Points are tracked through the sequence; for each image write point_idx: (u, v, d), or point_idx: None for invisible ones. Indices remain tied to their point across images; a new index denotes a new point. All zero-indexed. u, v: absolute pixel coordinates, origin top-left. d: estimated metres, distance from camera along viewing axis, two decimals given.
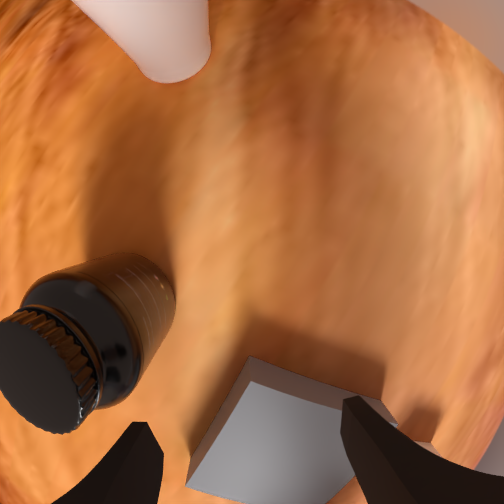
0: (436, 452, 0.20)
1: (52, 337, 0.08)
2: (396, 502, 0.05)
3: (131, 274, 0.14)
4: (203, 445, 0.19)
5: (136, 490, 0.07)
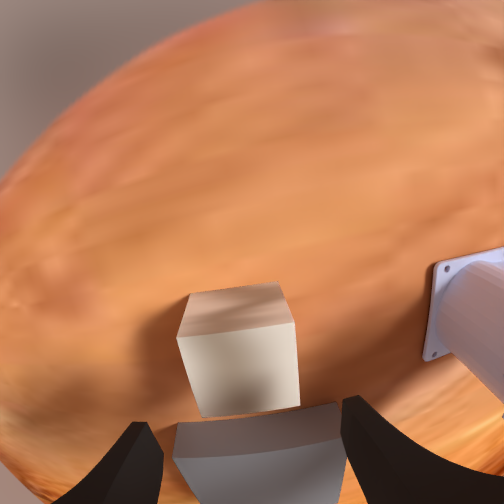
0: None
1: None
2: (396, 502, 0.05)
3: None
4: None
5: (136, 490, 0.07)
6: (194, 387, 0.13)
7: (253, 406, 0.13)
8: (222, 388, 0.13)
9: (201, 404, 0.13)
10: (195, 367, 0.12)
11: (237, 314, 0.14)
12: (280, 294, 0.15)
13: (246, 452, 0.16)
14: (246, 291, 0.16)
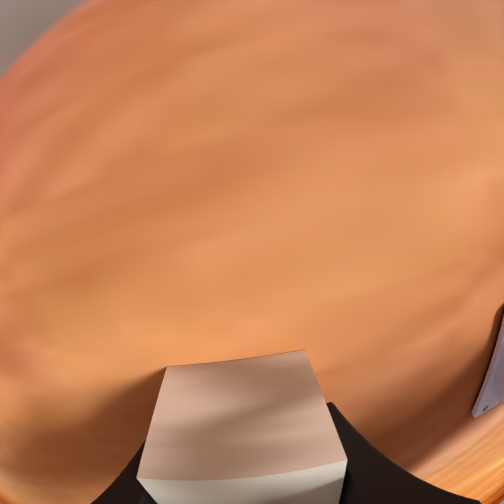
0: None
1: None
2: None
3: None
4: None
5: None
6: None
7: None
8: None
9: None
10: None
11: (241, 432, 0.07)
12: (313, 384, 0.08)
13: None
14: (255, 373, 0.09)
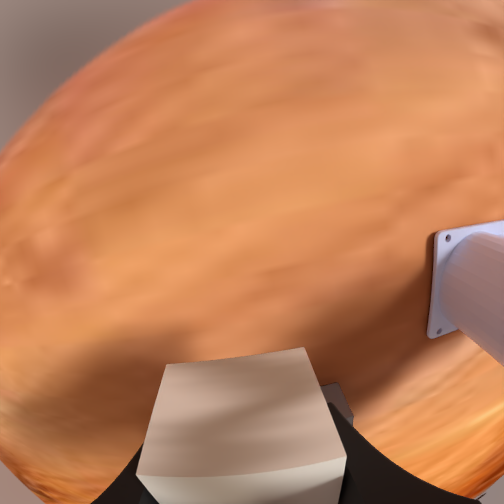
0: None
1: None
2: None
3: None
4: None
5: None
6: None
7: None
8: None
9: None
10: (173, 503, 0.06)
11: (241, 429, 0.07)
12: (313, 381, 0.08)
13: None
14: (255, 370, 0.09)
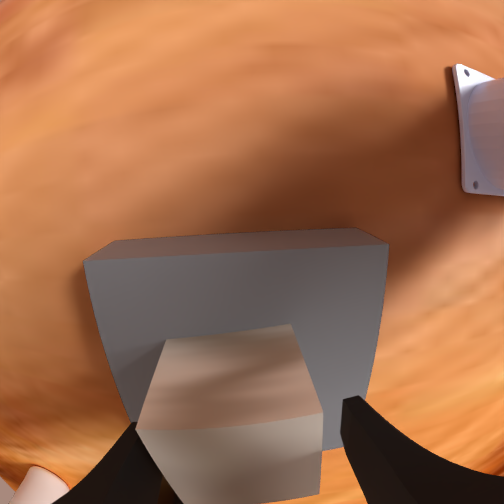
0: None
1: None
2: (396, 502, 0.05)
3: None
4: None
5: (136, 490, 0.07)
6: (171, 480, 0.07)
7: (254, 499, 0.08)
8: (211, 484, 0.07)
9: (183, 495, 0.08)
10: (168, 462, 0.07)
11: (230, 390, 0.08)
12: (296, 351, 0.10)
13: (209, 252, 0.11)
14: (245, 342, 0.11)
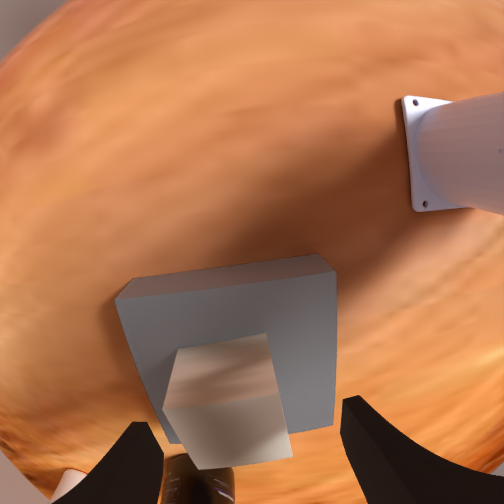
0: None
1: None
2: (396, 502, 0.05)
3: None
4: None
5: (136, 490, 0.07)
6: (187, 447, 0.12)
7: (246, 460, 0.12)
8: (214, 447, 0.12)
9: (196, 459, 0.12)
10: (184, 432, 0.11)
11: (221, 380, 0.13)
12: (267, 353, 0.14)
13: (203, 288, 0.15)
14: (233, 348, 0.15)
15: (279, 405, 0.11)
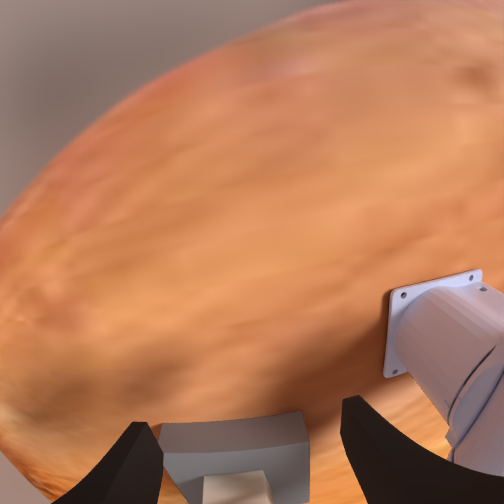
0: None
1: None
2: (396, 502, 0.05)
3: None
4: None
5: (136, 490, 0.07)
6: None
7: None
8: None
9: None
10: None
11: None
12: (262, 488, 0.18)
13: (217, 450, 0.19)
14: (241, 481, 0.19)
15: None
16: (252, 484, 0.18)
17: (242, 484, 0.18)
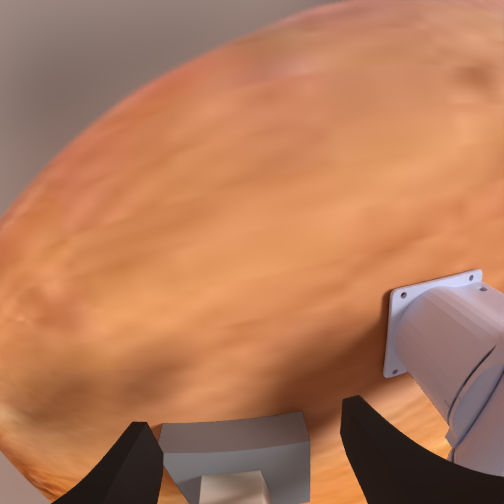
0: None
1: None
2: (396, 502, 0.05)
3: None
4: None
5: (136, 490, 0.07)
6: None
7: None
8: None
9: None
10: None
11: None
12: (259, 488, 0.18)
13: (218, 450, 0.19)
14: (238, 481, 0.19)
15: None
16: (249, 484, 0.18)
17: (239, 484, 0.18)
